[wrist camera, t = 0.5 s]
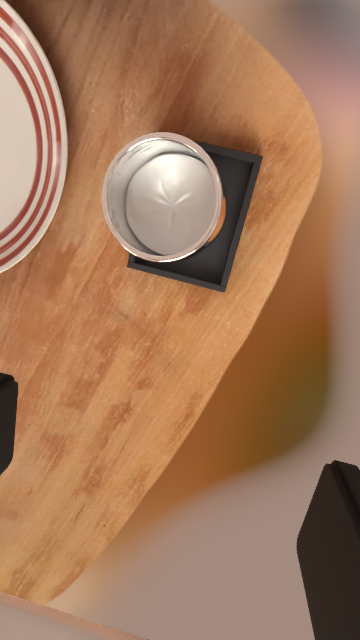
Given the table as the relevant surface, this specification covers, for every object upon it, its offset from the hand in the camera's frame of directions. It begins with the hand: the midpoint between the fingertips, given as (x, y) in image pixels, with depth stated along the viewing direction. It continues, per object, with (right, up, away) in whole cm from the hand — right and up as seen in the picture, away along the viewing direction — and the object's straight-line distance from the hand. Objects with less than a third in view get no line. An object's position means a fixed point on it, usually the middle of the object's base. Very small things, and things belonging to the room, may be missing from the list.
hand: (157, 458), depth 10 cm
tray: (+2, +14, +23) cm, 27 cm away
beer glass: (+2, +14, +22) cm, 27 cm away
